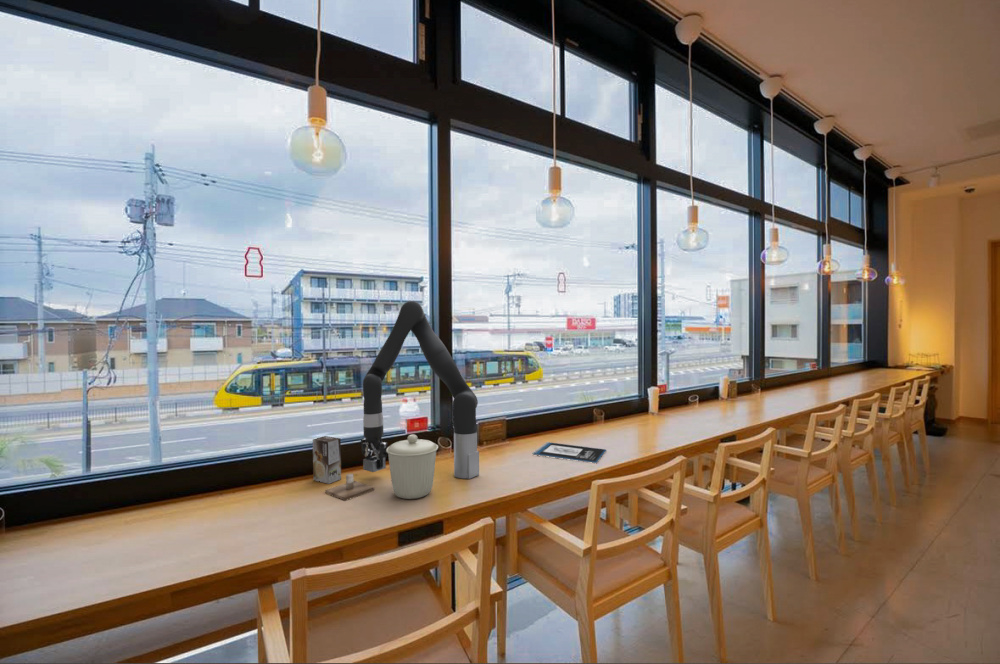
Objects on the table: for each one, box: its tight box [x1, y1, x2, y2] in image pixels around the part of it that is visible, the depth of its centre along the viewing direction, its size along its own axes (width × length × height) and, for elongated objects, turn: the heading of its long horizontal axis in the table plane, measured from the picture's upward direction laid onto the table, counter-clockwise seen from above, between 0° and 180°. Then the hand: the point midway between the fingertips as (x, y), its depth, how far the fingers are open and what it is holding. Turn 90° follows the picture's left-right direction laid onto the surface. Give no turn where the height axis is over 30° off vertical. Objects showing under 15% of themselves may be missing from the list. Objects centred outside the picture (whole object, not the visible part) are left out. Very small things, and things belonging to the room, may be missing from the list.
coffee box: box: [312, 435, 342, 484], centre depth 169 cm, size 9×6×16 cm
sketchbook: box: [531, 441, 607, 464], centre depth 204 cm, size 22×30×2 cm
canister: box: [386, 434, 439, 500], centre depth 154 cm, size 18×18×21 cm
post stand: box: [324, 473, 375, 501], centre depth 156 cm, size 12×12×6 cm
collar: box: [362, 455, 387, 473], centre depth 170 cm, size 6×6×4 cm
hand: (374, 467), depth 170 cm, fingers closed on collar, 6 cm apart
